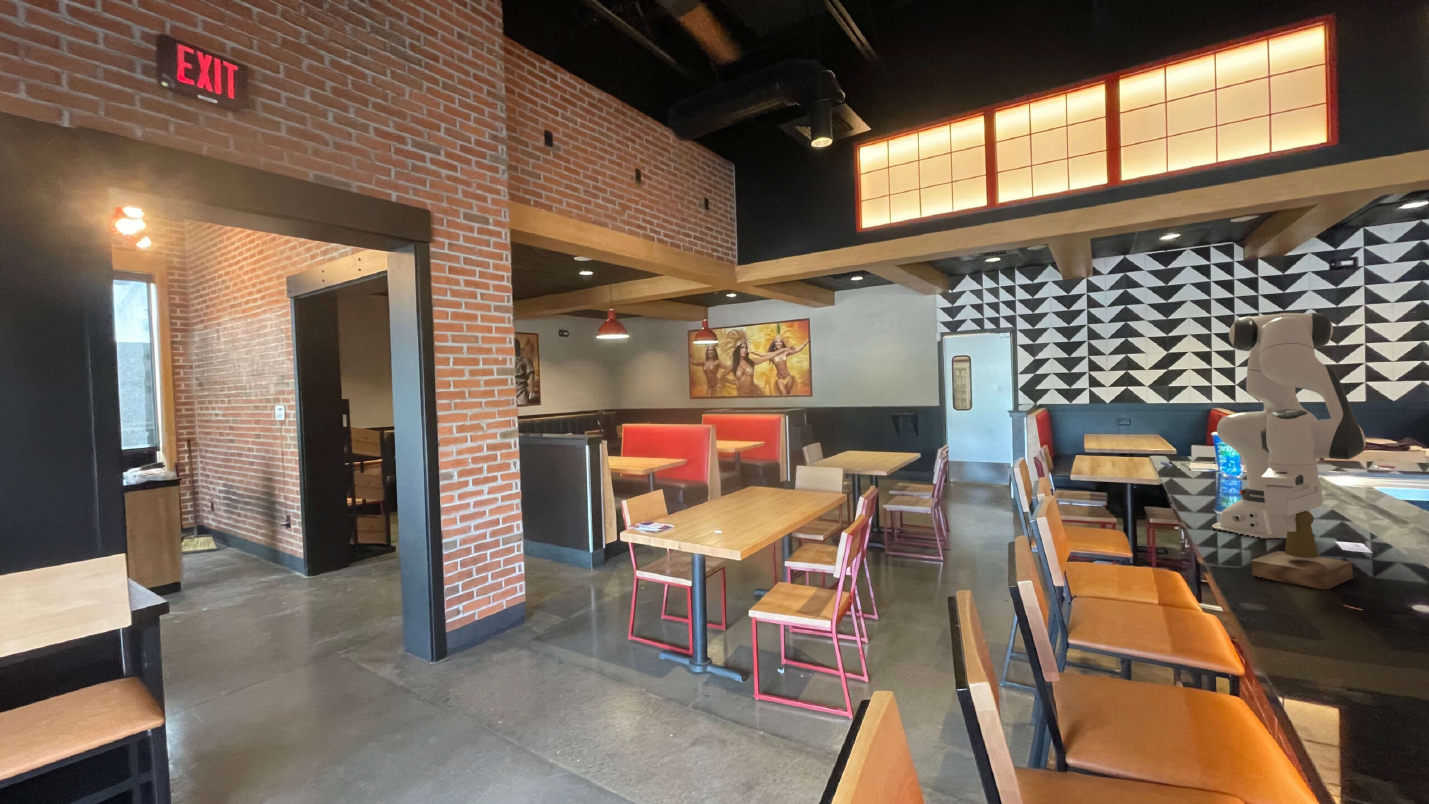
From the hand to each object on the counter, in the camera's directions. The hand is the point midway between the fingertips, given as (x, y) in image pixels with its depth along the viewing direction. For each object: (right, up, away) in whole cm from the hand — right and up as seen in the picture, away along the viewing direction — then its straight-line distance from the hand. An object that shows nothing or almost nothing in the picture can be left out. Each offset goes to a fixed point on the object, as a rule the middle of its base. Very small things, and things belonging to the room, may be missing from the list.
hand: (1297, 529), depth 147 cm
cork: (+1, -7, 0) cm, 7 cm away
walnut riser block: (+1, -12, 0) cm, 12 cm away
